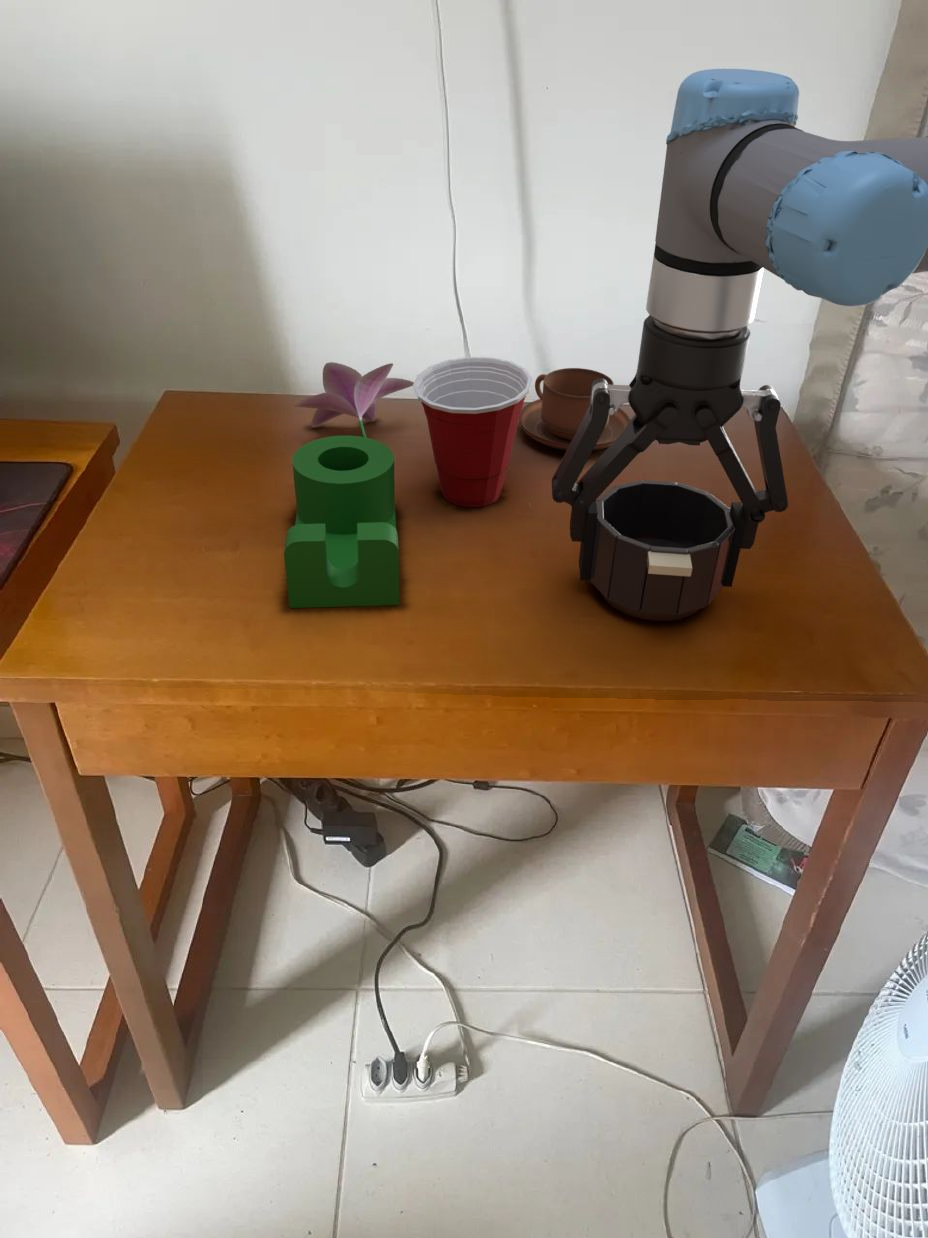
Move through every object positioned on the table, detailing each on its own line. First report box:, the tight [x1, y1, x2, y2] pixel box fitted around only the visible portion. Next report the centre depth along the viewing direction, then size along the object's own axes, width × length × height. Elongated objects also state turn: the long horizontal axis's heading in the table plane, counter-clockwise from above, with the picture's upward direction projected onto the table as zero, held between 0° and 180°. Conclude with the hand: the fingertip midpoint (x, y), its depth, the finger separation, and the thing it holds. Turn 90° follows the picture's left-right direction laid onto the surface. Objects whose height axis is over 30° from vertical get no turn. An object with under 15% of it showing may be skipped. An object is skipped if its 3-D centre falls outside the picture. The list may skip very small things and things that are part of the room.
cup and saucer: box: [518, 367, 631, 452], centre depth 104 cm, size 12×12×6 cm
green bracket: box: [283, 435, 401, 609], centre depth 86 cm, size 18×9×6 cm, turn 5°
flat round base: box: [600, 592, 700, 622], centre depth 83 cm, size 9×9×2 cm
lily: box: [293, 361, 415, 438], centre depth 102 cm, size 12×12×10 cm
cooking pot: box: [588, 479, 735, 615], centre depth 80 cm, size 13×11×6 cm
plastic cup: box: [412, 356, 533, 508], centre depth 92 cm, size 11×11×12 cm
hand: (654, 574), depth 83 cm, fingers closed on cooking pot, 11 cm apart
